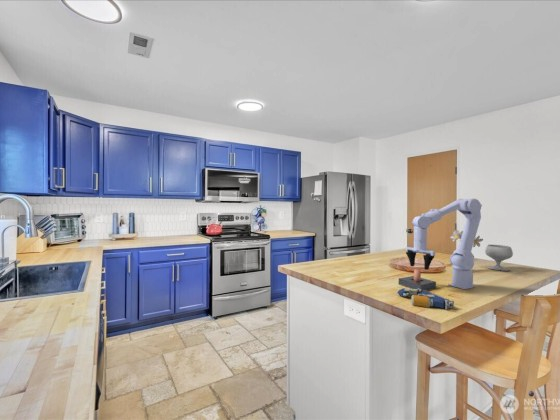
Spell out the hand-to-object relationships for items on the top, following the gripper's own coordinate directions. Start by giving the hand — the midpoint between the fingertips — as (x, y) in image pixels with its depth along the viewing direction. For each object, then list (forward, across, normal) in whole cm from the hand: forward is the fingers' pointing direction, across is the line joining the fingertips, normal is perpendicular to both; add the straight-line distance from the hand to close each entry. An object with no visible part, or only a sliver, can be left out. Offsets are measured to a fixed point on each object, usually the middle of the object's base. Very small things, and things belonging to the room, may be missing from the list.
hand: (419, 267), depth 137 cm
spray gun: (+10, +14, -18) cm, 25 cm away
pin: (+9, -1, -1) cm, 9 cm away
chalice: (+10, -2, +84) cm, 84 cm away
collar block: (+9, -1, 0) cm, 9 cm away
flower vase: (+10, -9, +58) cm, 59 cm away
